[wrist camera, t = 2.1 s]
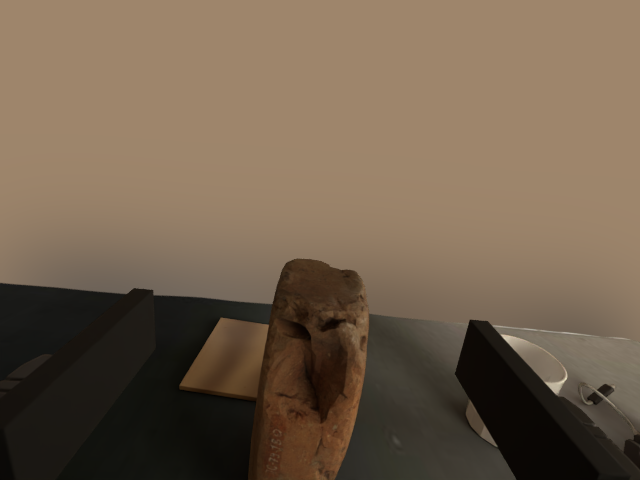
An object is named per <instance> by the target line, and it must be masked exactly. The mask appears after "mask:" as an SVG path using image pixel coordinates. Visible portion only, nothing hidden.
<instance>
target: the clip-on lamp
mask: <svg viewBox="0 0 640 480" xmlns="http://www.w3.org/2000/svg"><path fill="white" fill-rule="evenodd" d="M582 386H586V387H588V388H590V389H591V390H592V391H594V393H592V394H591V395H590V396H589V397H587V399H588V401H585V400H584V398H583V395H582V390H581V387H582ZM614 388H616V386H615V385H614V384H612V385H607V384H604V385H603V386H601V387H600V388H599V389H598V390H596V389H594V388H593V387H591V386H590V385H588V384H586V383H580V384H578V391H579V395H580V397H581V400H582V401H583V402H584V403H585V404H587V405H591V404H595V405H597V404H598V403H600V402H601V401H602V400H604V401H606V402H607V403H608V404H609V405H610V406H611V407H612V408H613V409H614V410H615V411H616V412H617V413H618V414H619V415H620V416H621V417H622V418H623V419H624V420H625V421H626V422H627V424H628V425H629V426H630V428H631V430H632V432H633V433H634V434H635V435H634V439H633V440H631V439H628V440H626V441H625V447H624V454H625V455H626V456H627V457H628V458H629V459H630V460H631V461H632V462H633V463H634V464H635V465H636V466H637V467H638V468H639V469H640V432H637V431H636V430H635V428H634V426H633V425H632V423H631V422H630V421H629V420H628V418H627V417H626V416H625V415H624V414H623V413H622V412H621V411H620V410H619V409H618V408H617V407H616V406H615V405H614V404H612V403H611V402H610V401H609V400H608V399H607V398H606V397H607V396H608V395H610V394H611V393H612V392H613V391H614Z"/></svg>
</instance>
